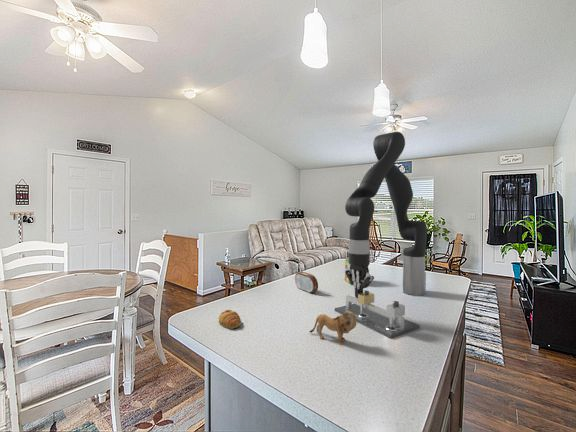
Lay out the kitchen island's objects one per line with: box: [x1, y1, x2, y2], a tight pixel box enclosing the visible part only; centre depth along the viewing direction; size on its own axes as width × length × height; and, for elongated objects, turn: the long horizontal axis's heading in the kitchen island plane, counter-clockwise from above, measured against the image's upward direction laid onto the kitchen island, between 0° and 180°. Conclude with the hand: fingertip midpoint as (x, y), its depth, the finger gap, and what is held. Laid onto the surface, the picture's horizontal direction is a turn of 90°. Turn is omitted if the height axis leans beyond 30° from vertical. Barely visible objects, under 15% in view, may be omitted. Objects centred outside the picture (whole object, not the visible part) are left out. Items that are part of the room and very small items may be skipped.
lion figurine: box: [309, 312, 358, 346], centre depth 84 cm, size 15×5×9 cm, turn 64°
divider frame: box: [345, 294, 406, 331], centre depth 98 cm, size 5×25×8 cm, turn 30°
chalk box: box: [344, 258, 353, 285], centre depth 147 cm, size 9×9×15 cm
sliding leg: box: [357, 290, 375, 314], centre depth 100 cm, size 5×3×8 cm, turn 120°
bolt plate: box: [334, 303, 421, 339], centre depth 99 cm, size 14×26×1 cm, turn 30°
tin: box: [294, 270, 319, 294], centre depth 132 cm, size 15×3×8 cm, turn 34°
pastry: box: [218, 309, 242, 330], centre depth 95 cm, size 9×7×4 cm
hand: (358, 298), depth 103 cm, fingers closed
